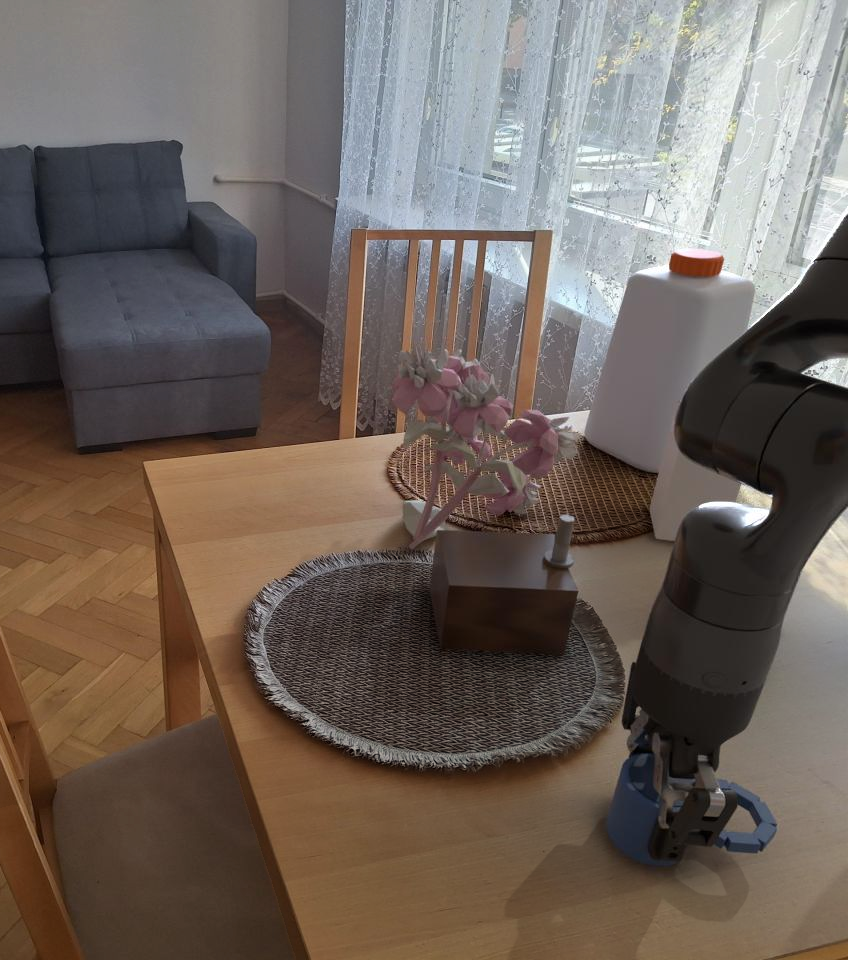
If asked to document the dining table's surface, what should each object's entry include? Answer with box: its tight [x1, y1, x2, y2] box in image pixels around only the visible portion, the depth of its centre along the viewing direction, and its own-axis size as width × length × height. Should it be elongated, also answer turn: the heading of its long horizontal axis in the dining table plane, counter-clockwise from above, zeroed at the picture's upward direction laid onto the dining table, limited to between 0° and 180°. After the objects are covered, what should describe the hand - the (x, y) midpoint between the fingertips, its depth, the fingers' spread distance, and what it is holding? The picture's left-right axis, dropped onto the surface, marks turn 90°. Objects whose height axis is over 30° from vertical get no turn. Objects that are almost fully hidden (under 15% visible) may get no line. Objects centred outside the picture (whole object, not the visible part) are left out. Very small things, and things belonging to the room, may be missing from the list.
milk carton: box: [649, 381, 742, 542], centre depth 100 cm, size 7×7×19 cm
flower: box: [391, 340, 583, 550], centre depth 102 cm, size 20×22×25 cm
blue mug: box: [605, 753, 778, 867], centre depth 65 cm, size 11×6×6 cm, turn 83°
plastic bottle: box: [583, 247, 756, 474], centre depth 116 cm, size 15×15×28 cm
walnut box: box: [429, 514, 579, 656], centre depth 87 cm, size 13×10×13 cm
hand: (648, 820), depth 66 cm, fingers closed on blue mug, 5 cm apart
